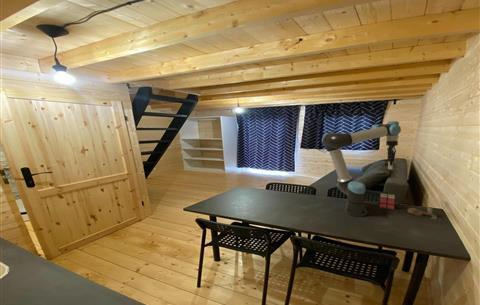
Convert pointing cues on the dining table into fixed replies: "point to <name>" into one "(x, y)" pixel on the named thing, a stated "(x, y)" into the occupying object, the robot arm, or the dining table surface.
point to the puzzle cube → (387, 201)
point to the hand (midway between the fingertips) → (390, 169)
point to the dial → (419, 211)
